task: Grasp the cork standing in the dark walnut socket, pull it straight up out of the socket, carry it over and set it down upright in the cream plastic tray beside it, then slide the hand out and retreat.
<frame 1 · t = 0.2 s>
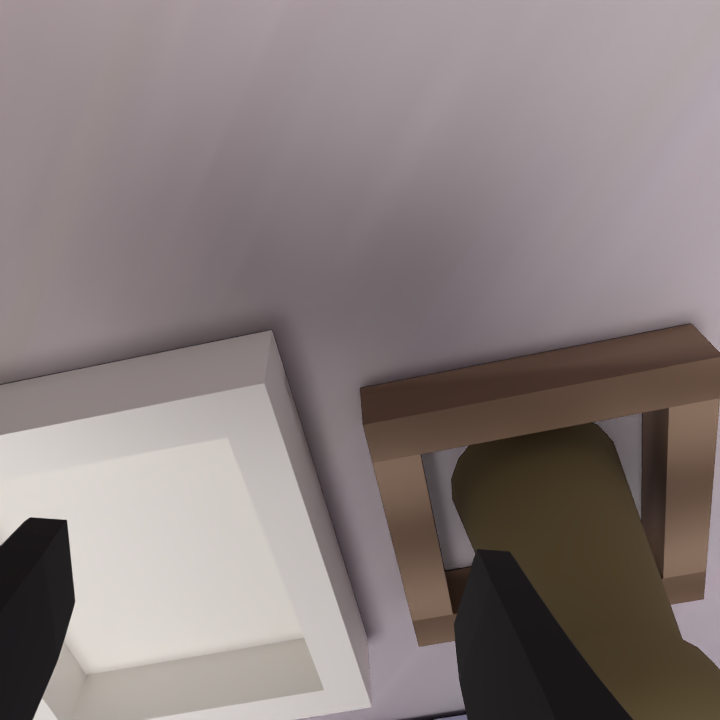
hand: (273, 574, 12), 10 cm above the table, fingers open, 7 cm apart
cream tray: (154, 539, 25), on the table
cork: (533, 476, 25), resting in walnut socket
walnut socket: (535, 481, 25), on the table
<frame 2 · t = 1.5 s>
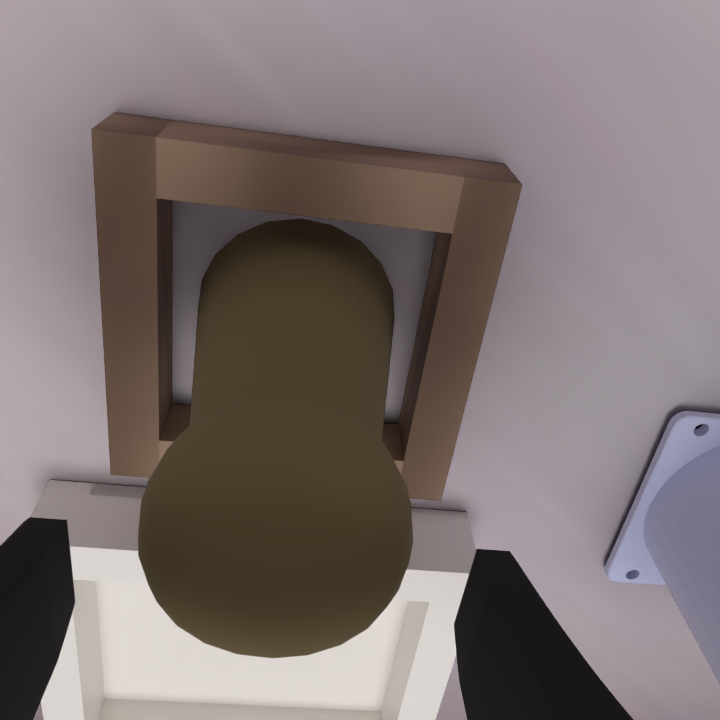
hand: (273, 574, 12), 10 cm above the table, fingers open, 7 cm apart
cream tray: (253, 617, 28), on the table
cork: (297, 310, 21), resting in walnut socket
walnut socket: (297, 313, 21), on the table
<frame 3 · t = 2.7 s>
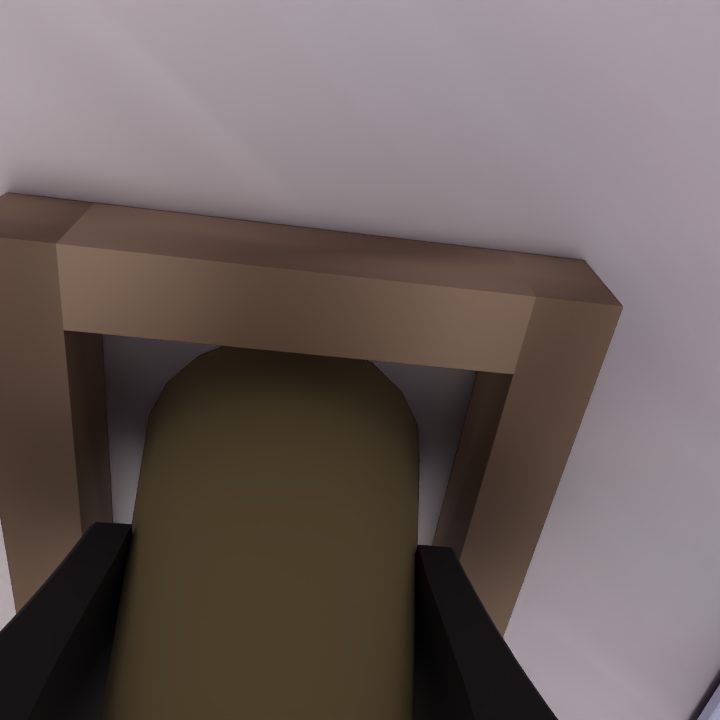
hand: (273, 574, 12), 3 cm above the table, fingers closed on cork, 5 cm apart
cork: (284, 449, 15), resting in walnut socket, touching gripper
walnut socket: (284, 455, 15), on the table
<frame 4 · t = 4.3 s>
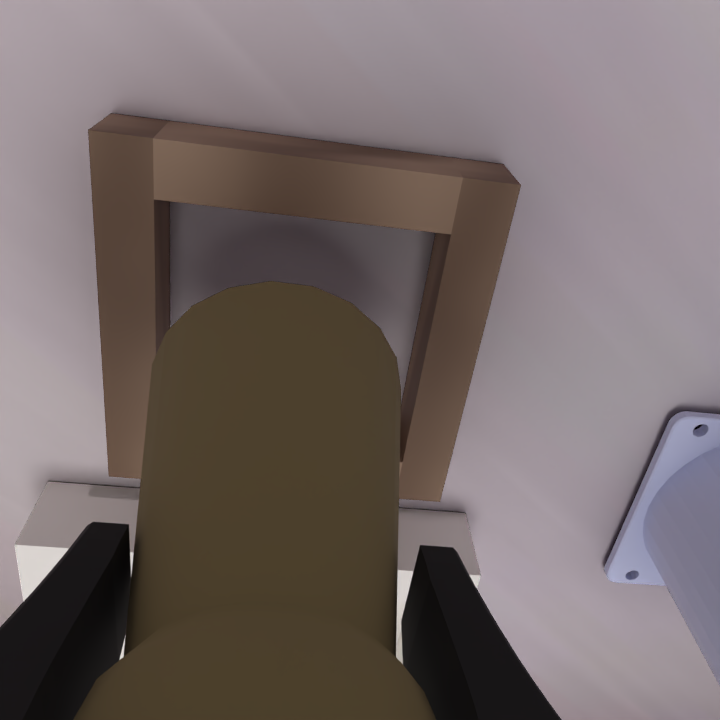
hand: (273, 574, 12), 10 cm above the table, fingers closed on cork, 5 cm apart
cream tray: (252, 618, 28), on the table
cork: (278, 388, 17), point 5 cm above the table, touching gripper
walnut socket: (295, 314, 21), on the table
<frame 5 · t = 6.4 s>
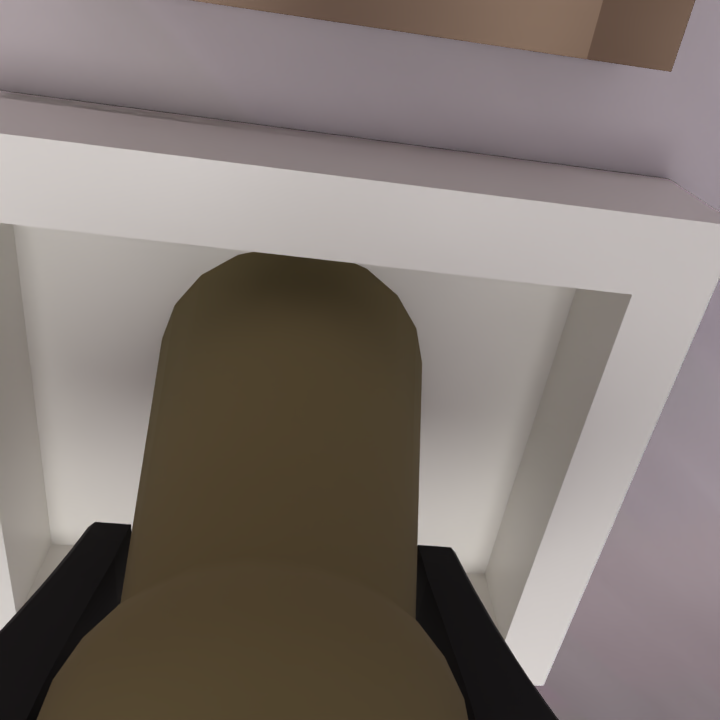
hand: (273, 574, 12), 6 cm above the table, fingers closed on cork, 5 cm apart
cream tray: (291, 398, 17), on the table
cork: (293, 364, 16), resting on cream tray, touching gripper
when the fingers open (6 cm above the table, at t = 6.9 s): cork stays where it is, resting on cream tray.
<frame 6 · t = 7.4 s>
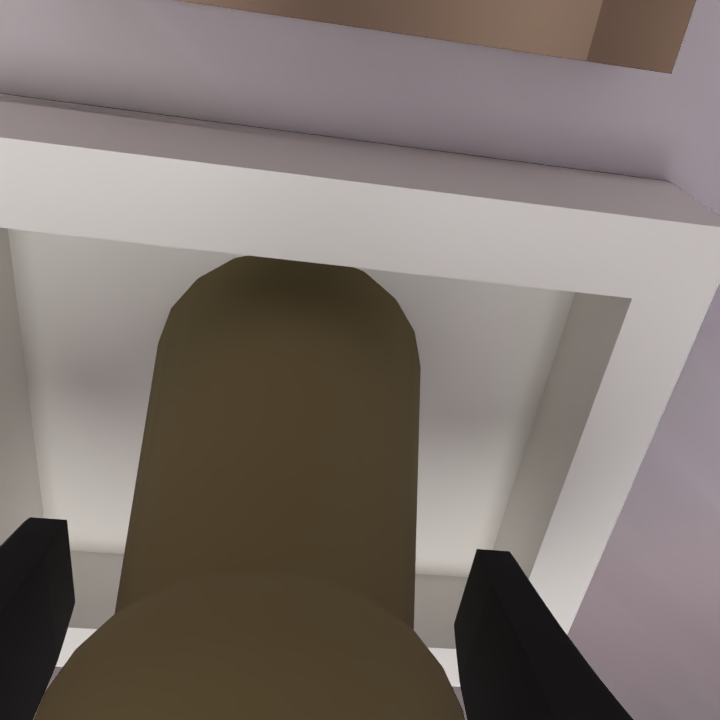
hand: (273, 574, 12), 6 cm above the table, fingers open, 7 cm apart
cream tray: (289, 402, 17), on the table
cork: (290, 368, 16), resting on cream tray
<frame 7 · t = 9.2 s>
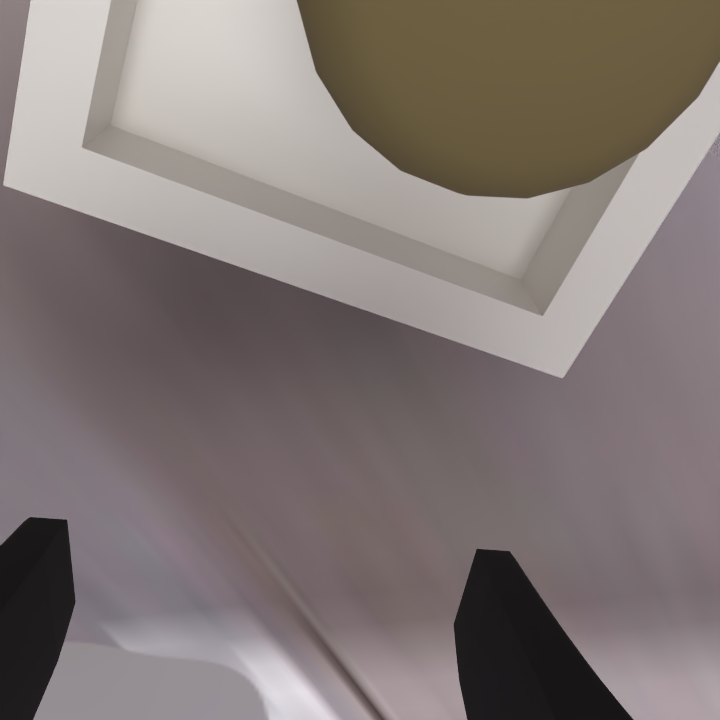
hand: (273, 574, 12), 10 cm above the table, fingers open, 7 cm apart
cream tray: (400, 18, 17), on the table
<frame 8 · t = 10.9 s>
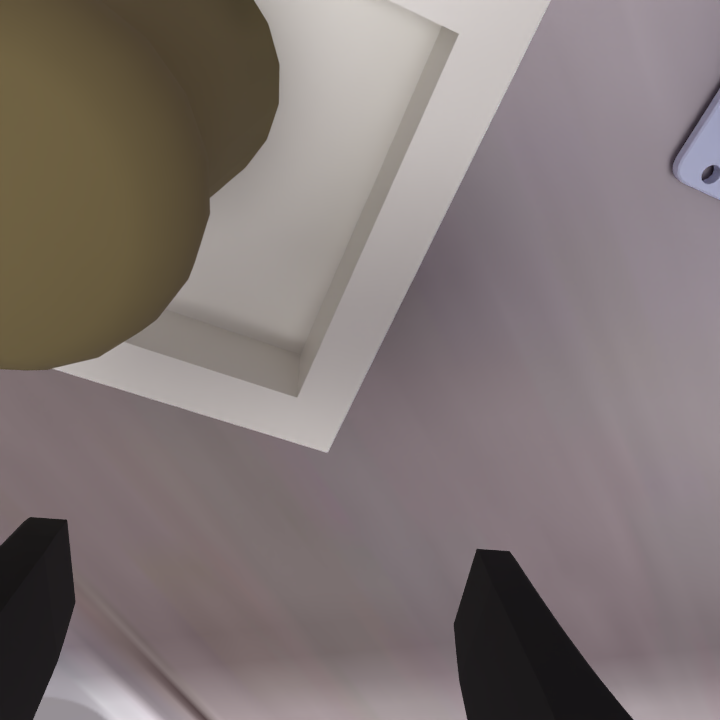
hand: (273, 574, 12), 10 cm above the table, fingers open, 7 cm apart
cream tray: (153, 119, 18), on the table
cork: (160, 74, 17), resting on cream tray
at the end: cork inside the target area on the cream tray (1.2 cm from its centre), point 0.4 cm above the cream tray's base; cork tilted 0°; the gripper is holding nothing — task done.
